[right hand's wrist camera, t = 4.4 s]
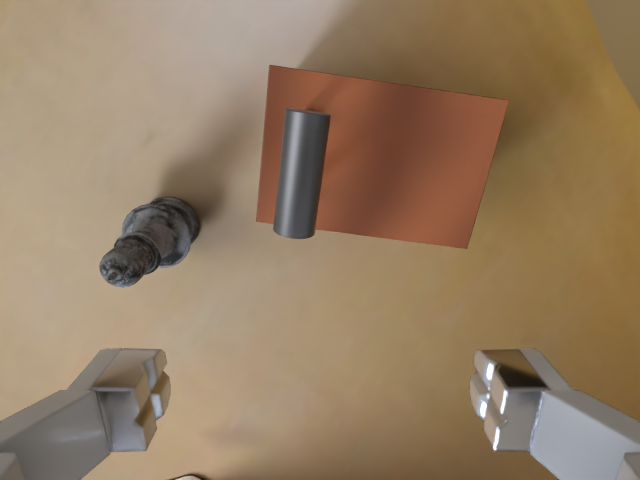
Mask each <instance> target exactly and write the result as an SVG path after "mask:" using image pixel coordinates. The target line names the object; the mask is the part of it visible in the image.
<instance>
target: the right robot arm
mask: <svg viewBox="0 0 640 480" xmlns="http://www.w3.org/2000/svg"><path fill="white" fill-rule="evenodd" d="M166 364H167V360H166V355H165V352H164V351H163V350H162V349H122V348H106V349H103V350H100V351H99V353H98V354H97V355H96V356H95V357H94V358H93V360H92V361H91V362H90V363H89V364H88V365H87V367H86V368H85V369H84V370H83V371H82V372H81V374H80V375H79V376H78V377H77V378H76V379H75V381H74V382H73V383H72V384H71V385H70V386H69V388H68V389H67V390H60V391H58V392H56V393H54V394H52V395H50V396H48V397H46V398H44V399H42V400H40V401H38V402H36V403H35V404H33V405H31V406H29V407H27V408H25V409H23V410H21V411H19V412H17V413H15V414H13V415H12V416H10V417H8V418H6V419H4V420H2V421H0V480H81V479H82V478H83V477H84V476H85V475H86V474H88V473H89V472H90V471H91V470H92V469H93V468H95V467H96V466H97V465H98V464H99V463H100V462H102V461H103V460H104V459H105V458H106V457H107V456H109V455H110V452H132V451H146V450H147V448H148V446H149V444H150V442H151V440H152V438H153V436H154V434H155V432H156V430H157V426H156V420H157V419H159V418H160V417H161V416H163V415H164V413H165V411H166V409H167V407H168V403H169V398H170V378H169V376H168V375H167V374H166V373H165V372H164V371H163V369H164V368H165V366H166ZM473 364H474V366H475V368H476V369H477V371H476V372H475V373H474V374H473V375H472V376H471V378H470V387H469V390H470V399H471V403H472V406H473V409H474V411H475V413H476V415H477V416H479V417H480V418H481V419H483V420H484V426H483V430H484V432H485V434H486V436H487V438H488V440H489V442H490V444H491V446H492V448H493V450H494V451H507V452H530V454H531V455H532V456H533V457H534V458H535V459H536V460H537V461H539V462H540V463H541V464H542V465H543V466H544V467H546V468H547V469H548V470H549V471H550V472H551V473H553V474H554V475H555V476H556V477H557V478H558V479H559V480H640V421H638V420H636V419H634V418H632V417H630V416H628V415H626V414H624V413H623V412H621V411H619V410H617V409H615V408H613V407H611V406H609V405H607V404H605V403H603V402H602V401H600V400H598V399H596V398H594V397H592V396H590V395H588V394H586V393H584V392H582V391H580V390H573V389H572V388H571V386H570V385H569V384H568V383H567V382H566V381H565V379H564V378H563V377H562V376H561V375H560V374H559V372H558V371H557V370H556V369H555V368H554V367H553V365H552V364H551V363H550V362H549V361H548V360H547V358H546V357H545V356H544V355H543V354H542V353H541V351H539V350H538V349H536V348H525V349H499V350H476V352H475V354H474V360H473ZM175 480H201V479H199V478H197V477H194V476H185V477H182V478H178V479H175Z"/></svg>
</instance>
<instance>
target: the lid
mask: <svg viewBox="0 0 640 480" xmlns="http://www.w3.org/2000/svg"><path fill="white" fill-rule="evenodd" d="M508 103H509V100H504V99H498V98H491V97H484V96H477V95H470V94H464V93H457V92H450V91H443V90H437V89H430V88H423V87H416V86H409V85H403V84H396V83H389V82H382V81H375V80H369V79H362V78H355V77H348V76H342V75H335V74H328V73H321V72H314V71H308V70H301V69H294V68H287V67H281V66H274V65H270V66H269V76H268V88H267V99H266V111H265V123H264V135H263V147H262V158H261V170H260V182H259V194H258V205H257V217H256V221H257V222H263V223H271V224H274V227H273V230H274V232H275V233H277V234H279V235H281V236H284V237H288V238H294V239H305V238H310V237H312V236H313V235H314V234H315V229H318V230H325V231H333V232H341V233H349V234H356V235H364V236H372V237H380V238H387V239H395V240H403V241H411V242H418V243H426V244H434V245H442V246H449V247H457V248H465V249H467V248H468V244H469V241H470V237H471V234H472V230H473V227H474V223H475V220H476V216H477V213H478V209H479V205H480V202H481V198H482V195H483V191H484V188H485V184H486V181H487V177H488V174H489V170H490V167H491V163H492V160H493V156H494V153H495V149H496V146H497V142H498V138H499V135H500V131H501V128H502V124H503V121H504V117H505V114H506V110H507V107H508Z"/></svg>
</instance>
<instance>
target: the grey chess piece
mask: <svg viewBox="0 0 640 480" xmlns="http://www.w3.org/2000/svg"><path fill="white" fill-rule="evenodd" d="M198 230H199V225H198V220H197V217H196V215H195V213H194V211H193V210H192V209H191V208H190V207H189V206H188V205H187V204H186V203H184V202H183V201H181V200H179V199H175V198H170V197H164V198H159V199H156V200H154V201H153V202H151V203H150V204H147V205H142V206H139V207H137V208H136V209H134V210H132V211H131V212H130V213H129V214H128V215H127V217H126V219H125V221H124V223H123V228H122V236H120V237H119V238H118V239H117V241H116V243H115V245H114V248H113V249H112V250H111V251H109V252H108V253H107V254H106V255H105V256H104V257H103V258H102V260H101V262H100V272H101V274H102V277H103V278H104V279H105V280H106V281H107V282H108V283H110V284H111V285H113V286H117V287H129V286H131V285H133V284H135V283H136V282H137V281H139V280H140V278H141V277H142V276H143V275H145V274H150V273H152V272H154V271H155V270H156V269H157V268H167V267H172V266H174V265H176V264H178V263H180V262H181V261H182V260H183V259H184V258H185V257H186V255H187V253H188V252H189V249H190V245H191V244H192V243H193V242H194V240H195V239H196V237H197V235H198Z"/></svg>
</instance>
